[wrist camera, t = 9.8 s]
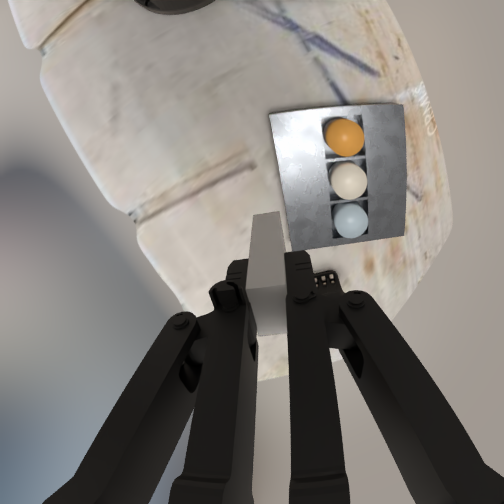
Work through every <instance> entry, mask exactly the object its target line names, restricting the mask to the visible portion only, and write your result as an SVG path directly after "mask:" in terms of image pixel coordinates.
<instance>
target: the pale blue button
mask: <svg viewBox="0 0 504 504" xmlns="http://www.w3.org/2000/svg"><path fill="white" fill-rule="evenodd" d="M332 220H333V222H334V224H335V227H336V229H337V231H338V233H339V234H340V235H341V236H343V237H345V238H356V237H358V236H360V235H361V234H363V233H364V231H365V230H366V228H367V226H368V217H367V215H366V213H365V212H364V210H363V209H362V207H361V206H360V205H359V203H358V202H356V201H351V202H343V203H337V204H336V205H335V207H334V208H333V211H332Z"/></svg>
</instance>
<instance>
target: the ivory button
mask: <svg viewBox="0 0 504 504" xmlns="http://www.w3.org/2000/svg"><path fill="white" fill-rule="evenodd" d="M328 179H329V182H330V184H331V186H332V188H333V189H334V191H335V192H336V194H337V195H338V196H339V197H341V198H343V199H347V200H352V199H356V198H358V197H359V196H361V195H362V194H363V193H364V191H365V189H366V187H367V177H366V174H365V172H364V171H363V170H362V169H361V168H360V167H359V166H358V165H356V164H355V163H354V162H352V161H350V160H343V161H338V162H336V163H335V164H333V165H332V167H331V168H330V170H329V174H328Z"/></svg>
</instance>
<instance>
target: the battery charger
mask: <svg viewBox="0 0 504 504" xmlns="http://www.w3.org/2000/svg"><path fill="white" fill-rule="evenodd" d="M314 278H315V283H316V288H317V290H318V292H319V293H320V294H321V295H323V296H325V297H327V298H332V299H340V298H341V296H342V295H343V294H345V293H344V292H343V290H342V288H341V285H340V281H339V278H338V275H337V273H336V272H335V271H328V272H323V273H319V274H314Z"/></svg>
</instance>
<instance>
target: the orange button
mask: <svg viewBox="0 0 504 504" xmlns="http://www.w3.org/2000/svg"><path fill="white" fill-rule="evenodd" d="M323 137H324V140H325V142H326V144H327V145H328V146H329V147H330V148H331V149H332V150H333V151H334V152H335V153H336V154H338V155H340V156H345V157H348V156H353V155H355V154H356V153H358V152H359V151H360V150H361V148H362V147H363V144H364V133H363V131H362V129H361V127H360V126H359V125H358V124H357V123H355V122H353V121H351V120H348V119H346V118H341V117H338V118H334V119H332V120H330V121H329V122H328V123H327V124H326V126H325V128H324V131H323Z"/></svg>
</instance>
